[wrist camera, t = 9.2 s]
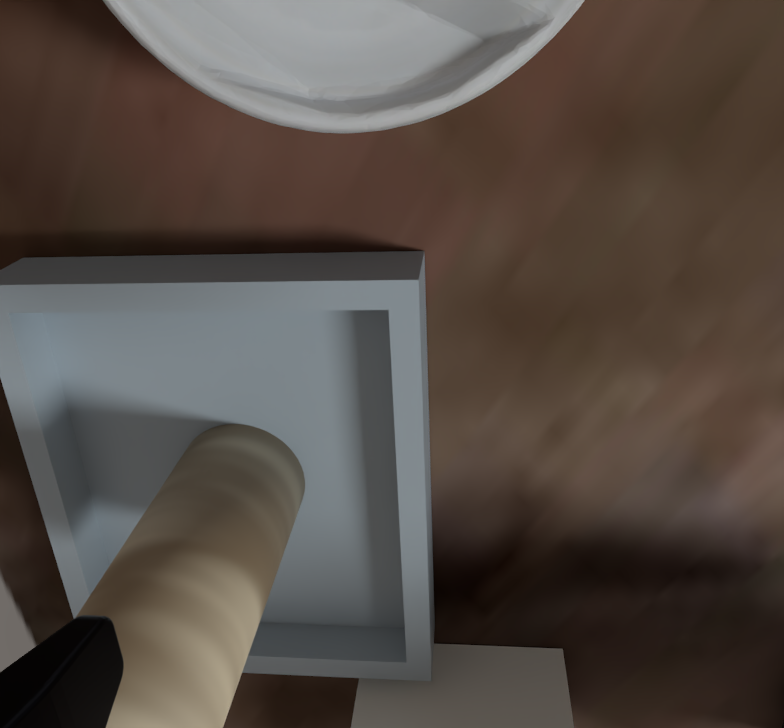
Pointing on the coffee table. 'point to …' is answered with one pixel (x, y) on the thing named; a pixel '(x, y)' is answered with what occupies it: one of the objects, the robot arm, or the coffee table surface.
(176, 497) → the beech dowel
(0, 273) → the slate tray
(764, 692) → the coffee table surface
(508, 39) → the ramekin
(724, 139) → the coffee table surface
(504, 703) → the white open box
